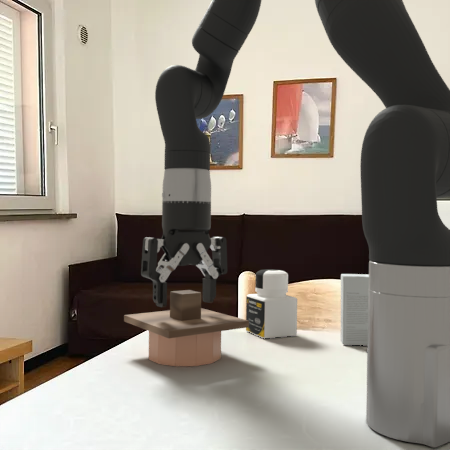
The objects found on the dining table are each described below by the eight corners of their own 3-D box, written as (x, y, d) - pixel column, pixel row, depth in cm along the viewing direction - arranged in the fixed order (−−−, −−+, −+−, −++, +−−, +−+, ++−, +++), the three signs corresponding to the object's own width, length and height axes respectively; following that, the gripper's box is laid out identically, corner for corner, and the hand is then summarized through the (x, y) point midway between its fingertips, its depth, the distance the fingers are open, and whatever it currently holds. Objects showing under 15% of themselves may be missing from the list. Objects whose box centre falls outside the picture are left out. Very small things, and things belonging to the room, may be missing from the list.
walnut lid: (248, 327, 81) (249, 294, 81) (168, 338, 73) (169, 301, 73) (198, 313, 93) (198, 284, 93) (124, 321, 84) (124, 289, 84)
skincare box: (373, 341, 95) (375, 274, 95) (378, 347, 91) (379, 276, 91) (339, 340, 96) (340, 273, 96) (342, 345, 91) (343, 275, 91)
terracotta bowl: (234, 359, 82) (234, 326, 82) (171, 370, 75) (172, 335, 75) (195, 344, 91) (195, 315, 91) (136, 353, 84) (136, 321, 84)
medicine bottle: (245, 331, 102) (246, 268, 101) (277, 328, 105) (278, 267, 104) (263, 339, 95) (264, 272, 95) (297, 336, 98) (298, 271, 98)
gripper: (157, 197, 75) (156, 312, 76) (238, 200, 84) (236, 303, 84) (134, 198, 81) (132, 304, 82) (211, 201, 90) (209, 297, 90)
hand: (185, 304), depth 83 cm, fingers open, 8 cm apart
